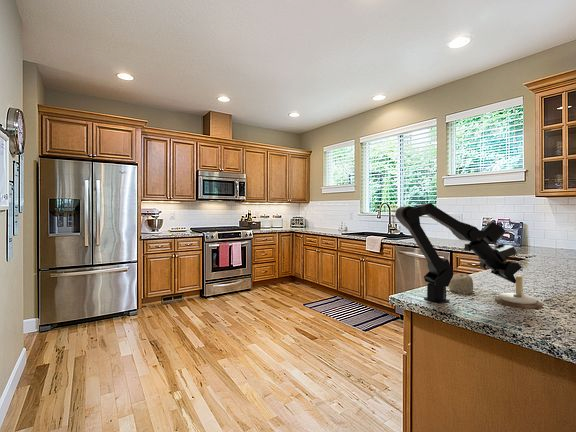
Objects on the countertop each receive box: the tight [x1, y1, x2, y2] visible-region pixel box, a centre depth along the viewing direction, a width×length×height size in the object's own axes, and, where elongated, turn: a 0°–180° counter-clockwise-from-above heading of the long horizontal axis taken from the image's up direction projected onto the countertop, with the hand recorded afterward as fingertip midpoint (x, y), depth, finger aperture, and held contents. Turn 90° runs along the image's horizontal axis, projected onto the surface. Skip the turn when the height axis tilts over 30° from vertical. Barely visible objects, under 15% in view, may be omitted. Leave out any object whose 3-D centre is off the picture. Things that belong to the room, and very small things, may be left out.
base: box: [494, 295, 543, 310], centre depth 112 cm, size 14×14×1 cm
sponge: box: [448, 273, 474, 294], centre depth 131 cm, size 9×10×10 cm
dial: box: [498, 274, 538, 304], centre depth 112 cm, size 11×12×8 cm
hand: (515, 282), depth 115 cm, fingers closed
